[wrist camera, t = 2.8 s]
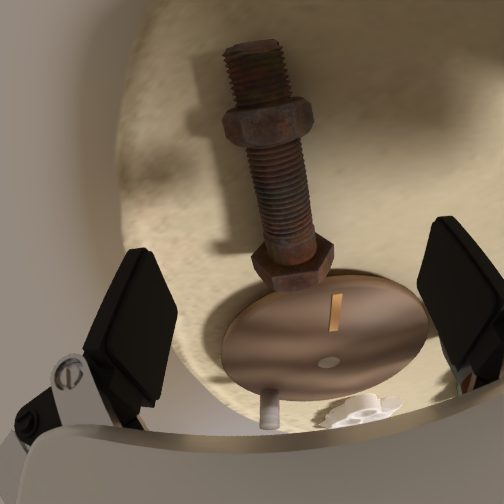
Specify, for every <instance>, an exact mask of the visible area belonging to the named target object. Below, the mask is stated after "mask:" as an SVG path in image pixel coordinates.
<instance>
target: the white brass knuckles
mask: <svg viewBox="0 0 504 504" xmlns="http://www.w3.org/2000/svg"><path fill="white" fill-rule="evenodd" d="M402 405H403V400H402V398H400V397H398V396H393V397H387V398H382V399H378V398H377V397H376V395H375V394H360V395H356V396H353V397H350V398H348V399H346V400H345V402H344V403H343V404H342V405H340V406H338V407H335V408H333V409H332V410H330V411H329V414H327V415H325V416H326V417H325V421H323V422H322V423H320V424H318V425H319V426H322V427H325V428H326V430H327V429H334V428H340V427H346V426H352V425H357V424H362V423H367V422H372V421H376V420H381V419H385V418H388V417H389V416H390V415H391V414H392V413H393V412H395V411H396V410H397V409H399V408H400V407H401V406H402Z"/></svg>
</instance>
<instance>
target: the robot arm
mask: <svg viewBox="0 0 504 504" xmlns="http://www.w3.org/2000/svg"><path fill="white" fill-rule="evenodd" d="M417 289H418V291H419V293H420V295H421V297H422V299H423V301H424V303H425V305H426V307H427V309H428V312H429V314H430V316H431V318H432V320H433V322H434V324H435V327H436V329H437V331H438V333H439V336H440V338H441V340H442V343H443V345H444V347H445V350H446V352H447V355H448V357H449V360H450V362H451V364H452V365H455V367H456V370H457V372H461V371H464V370H466V369H469V368H470V367H472V370H473V374H472V377H471V381H470V384H469V387H468V391H467V393H465V394H463V395H460V396H457V397H455V398H452V399H449V400H446V401H444V402H441V403H438V404H435V405H432V406H428V407H425V408H422V409H419V410H415V411H412V412H408V413H405V414H401V415H397V416H393V417H389V418H385V419H381V420H376V421H372V422H367V423H362V424H357V425H352V426H346V427H340V428H334V429H327V430H319V431H311V432H302V433H292V434H280V435H261V436H205V435H187V434H174V433H163V432H152V431H149V429H148V428H147V426H146V425H145V423H144V421H143V420H142V418H141V416H140V414H139V413H140V408H141V406H142V407H151V408H154V407H155V401H156V400H158V399H159V398H160V395H161V391H162V386H163V381H164V376H165V370H166V366H167V361H168V356H169V351H170V347H171V342H172V338H173V333H174V329H175V324H176V320H177V315H178V311H177V306H176V304H175V302H174V300H173V298H172V295H171V293H170V291H169V289H168V287H167V284H166V282H165V280H164V278H163V275H162V273H161V271H160V268H159V266H158V264H157V261H156V259H155V257H154V254H153V253H152V252H151V251H148V250H147V249H146V248H136V249H130V250H128V251H127V253H126V255H125V257H124V259H123V261H122V263H121V265H120V267H119V269H118V271H117V273H116V275H115V277H114V279H113V281H112V283H111V285H110V287H109V289H108V291H107V293H106V295H105V297H104V299H103V302H102V304H101V306H100V308H99V310H98V313H97V315H96V317H95V319H94V322H93V324H92V326H91V329H90V331H89V334H88V336H87V338H86V341H85V343H84V346H83V348H82V349H83V350H84V354H83V356H81V355H79V354H69V355H67V356H64V357H63V358H62V359H60V360H59V361H58V362H57V364H56V365H55V366H54V368H53V371H52V373H51V378H50V379H51V387H49V388H48V389H47V390H45V391H44V392H42V393H41V394H40V395H38V396H37V397H36V398H34V399H33V400H31V401H30V402H29V403H27V404H26V405H25V406H23V407H22V408H21V409H20V410H19V412H18V413H17V416H16V418H15V425H14V427H15V431H13V430H11V432H10V433H9V434H8V436H7V437H6V438H5V440H4V441H3V442H2V444H1V445H0V496H1V498H2V500H3V501H4V503H5V504H504V279H503V278H502V276H501V275H500V273H499V272H498V271H497V269H496V268H495V266H494V265H493V264H492V262H491V261H490V260H489V259H488V257H487V256H486V255H485V253H484V252H483V251H482V250H481V248H480V247H479V246H478V245H477V243H476V242H475V241H474V240H473V238H472V237H471V236H470V235H469V234H468V232H467V231H466V230H465V229H464V228H463V227H462V226H461V224H460V223H459V222H458V221H457V220H456V219H455V218H454V217H453V216H442V217H437V219H436V220H435V221H434V222H433V223H432V226H431V230H430V234H429V238H428V243H427V246H426V250H425V254H424V258H423V261H422V265H421V268H420V272H419V275H418V278H417Z"/></svg>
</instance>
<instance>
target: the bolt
mask: <svg viewBox="0 0 504 504" xmlns="http://www.w3.org/2000/svg"><path fill="white" fill-rule="evenodd" d="M282 48H283V47H282V46H279V42H278V41H276V40H274V39H269V40H261V41H253V42H247V43H241V44H237V45H234V46H233V47H230V48H227V49H226V51H225V52H224V54H223V55H222V56H224V57H226V58H225V60H224V62H226V63H227V64H226V65H225V67H227V68H229V69H228V70H227V71H226V72H228V73H229V74H230V75H229V77H228V78H230V79H232V81H231V82H230V84H232V85H234V86H233V87H232V88H231V89H232V90H234V91H235V92H234V93H233V94H232V95H234V96H236V98H235V99H234V101H236V102H237V104H236V105H235V106H236V107H234V108H232V109H229V110H228V111H227V112H226V113H225V115H224V116H223V118H222V122H223V126H224V130H225V134H226V137H227V138H228V139H229V140H230V141H231V142H232V143H233V144H235V145H237V146H240V147H247V148H246V150H245V151H246V152H248V154H247V157H248V158H249V160H248V162H249V163H250V165H249V168H250V169H251V171H250V172H251V174H252V179H253V183H254V188H255V193H256V195H257V199H258V204H259V209H260V214H261V219H262V223H263V228H264V239H265V241H264V242H263V243H262V244H261V246H260V247H259V248H258V249H257V250H256V251H255V252H254V253H253V255H252V256H251V259H252V263H253V266H254V269H255V271H256V272H257V274H258V275H259V276H260V278H261V279H262V280H263V281H264V282H265V283H266V285H267V286H269V287H270V288H272V289H273V290H277V291H284V292H297V291H303V290H306V289H309V288H311V287H314V286H316V285H318V284H320V283H321V282H322V281H323V280H324V279H325V277H326V275H327V274H328V272H329V270H330V268H331V265H332V262H333V259H334V244H332V243H331V242H329V241H328V240H326V239H325V238H323V237H322V236H320V235H319V234H317V233H316V232H315V228H314V225H313V223H312V214H311V207H310V200H309V197H310V196H309V190H308V184H307V182H308V181H307V179H306V178H307V175H306V174H305V173H306V170H305V164H304V159H303V153H302V148H301V145H302V144H301V142H300V140H301V138H300V137H302V136H304V135H305V134H307V133H308V132H309V131H310V129H311V127H312V125H313V123H314V119H313V113H312V107H311V103H309V102H308V101H307V100H305V99H304V98H302V97H290V95H291V94H292V92H291V91H289V89H290V88H291V86H289V85H288V83H289V82H290V81H289V80H287V77H288V76H289V75H287V74H285V73H286V71H287V69H285V68H284V67H285V65H286V63H283V60H284V59H285V58H284V57H282V55H283V54H284V52H282V51H280V50H281V49H282Z"/></svg>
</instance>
